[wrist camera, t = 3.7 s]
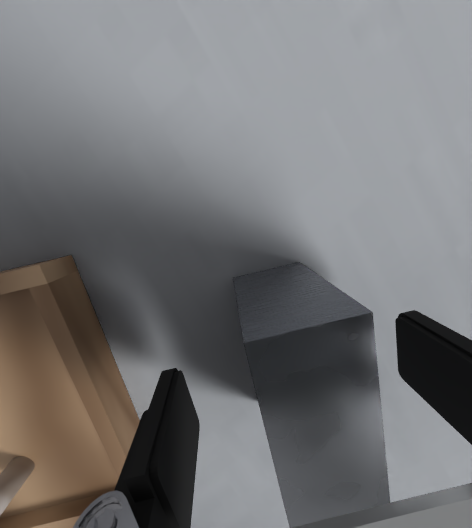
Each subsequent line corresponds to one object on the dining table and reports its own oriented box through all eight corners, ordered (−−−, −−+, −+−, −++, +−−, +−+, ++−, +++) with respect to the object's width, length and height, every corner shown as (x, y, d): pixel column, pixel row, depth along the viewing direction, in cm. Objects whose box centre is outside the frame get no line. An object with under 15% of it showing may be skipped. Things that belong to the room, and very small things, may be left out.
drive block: (299, 261, 12) (372, 311, 6) (320, 388, 14) (391, 519, 8) (232, 277, 12) (243, 342, 6) (263, 402, 14) (293, 542, 8)
